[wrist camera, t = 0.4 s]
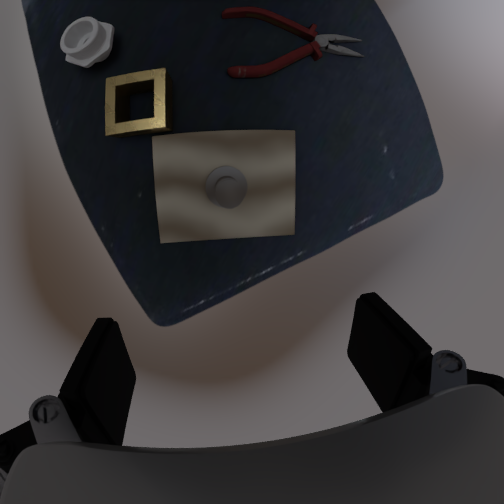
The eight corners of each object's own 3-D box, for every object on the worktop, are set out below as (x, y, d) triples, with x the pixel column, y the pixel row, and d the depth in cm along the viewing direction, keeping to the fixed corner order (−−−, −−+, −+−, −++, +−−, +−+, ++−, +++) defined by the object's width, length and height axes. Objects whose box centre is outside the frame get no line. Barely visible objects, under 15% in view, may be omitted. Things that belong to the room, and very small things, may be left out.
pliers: (364, 83, 33) (373, 80, 31) (227, 81, 31) (228, 76, 29) (353, 21, 29) (360, 15, 27) (220, 13, 27) (221, 4, 25)
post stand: (154, 136, 32) (135, 132, 23) (292, 131, 34) (317, 125, 26) (162, 240, 37) (148, 266, 28) (292, 232, 39) (314, 255, 31)
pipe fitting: (123, 27, 25) (106, 4, 18) (119, 70, 28) (98, 52, 20) (84, 37, 24) (60, 19, 17) (79, 79, 27) (52, 67, 20)
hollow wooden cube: (121, 88, 29) (106, 78, 23) (172, 80, 30) (165, 68, 24) (121, 137, 31) (105, 135, 26) (172, 131, 32) (165, 126, 27)
